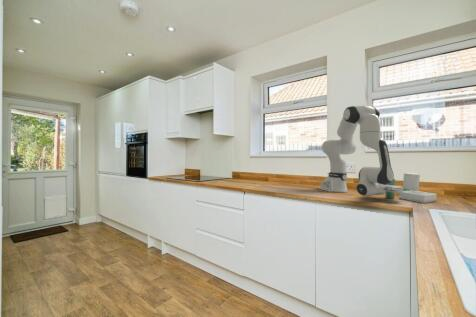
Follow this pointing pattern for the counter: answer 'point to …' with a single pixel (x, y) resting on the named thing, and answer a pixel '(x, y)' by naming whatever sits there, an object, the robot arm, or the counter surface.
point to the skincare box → (411, 182)
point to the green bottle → (390, 194)
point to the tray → (418, 196)
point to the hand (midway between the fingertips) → (391, 186)
